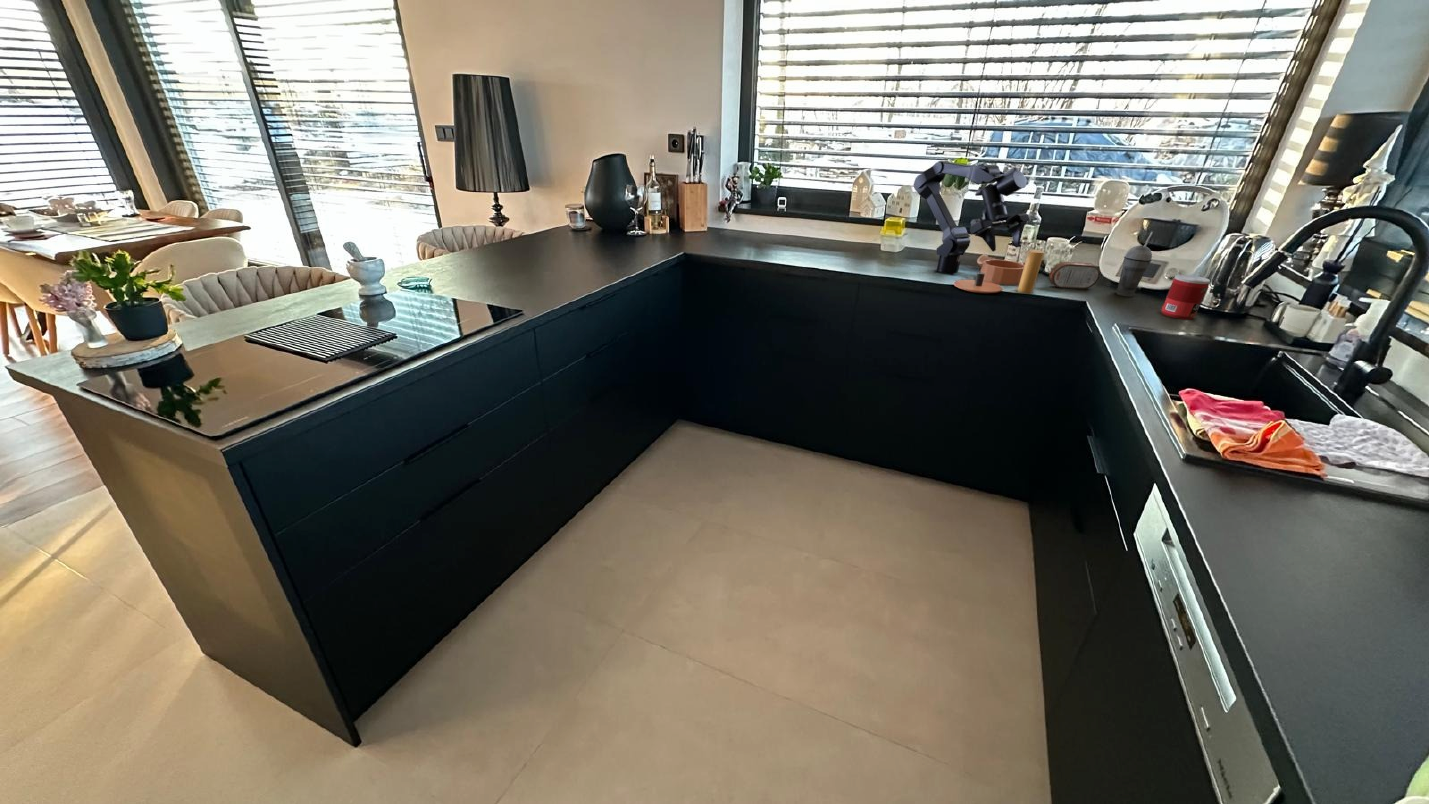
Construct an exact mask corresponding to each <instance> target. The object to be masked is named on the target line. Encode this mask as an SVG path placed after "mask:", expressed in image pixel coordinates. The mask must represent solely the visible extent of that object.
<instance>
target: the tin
mask: <svg viewBox="0 0 1429 804" xmlns="http://www.w3.org/2000/svg"><path fill="white" fill-rule="evenodd" d="M1100 277H1101V271H1100V269H1099V267H1097V265H1095V264H1094V263H1090V262H1076V261H1062V262H1059V263H1057V264H1056V265H1054V266H1053V267H1052V268H1051V269H1050V271H1049V274H1048V280H1049V282H1050V284H1051V285H1053V286H1055V287H1056V288H1058V289H1059V288H1060V289H1074V290H1076V289H1077V290H1087V289H1090V288H1091V287H1092V288H1093V286H1095V284H1097V282H1098V281H1099V279H1100Z"/></svg>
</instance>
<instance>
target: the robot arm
mask: <svg viewBox="0 0 1429 804" xmlns="http://www.w3.org/2000/svg"><path fill="white" fill-rule="evenodd" d="M947 175H949V176H955V177H961V178H965V179H968V180H969V181H970V182H973V183H974V184H976V185H986V186H979V187H978V188H977V190H976V192H975V194H974V196H976V197H980V196H981V197H982V202H983V205H984V209H983V210H982V217H979V218H973V219H971V221H970V228H969V232H970V234H969V233H968V230H967V228H966V227H965V226H958V225H957V223H956V221H955V220H954V218H953V216H952V214H951V212H950V210H949V208H948V206H947V204H946V202H945V201H944V198H943V197H942V194H941V183H942V182H943V181H944V179H945V177H946V176H947ZM1026 186H1027V177H1026V176H1025V175H1024V173H1023V172H1022V171H1021V170H1020V168H1019V167H1012V168H1011V169H1010V170H1008V171H1006V172H1004V171H1001V170H1000V167H999V166H998V165H997V164H979V165H978V164H977V165H972V164H965V163H959V162H951V161H949V160H938V161H937V162H935V163H934V164H933V165H932V166H930V167H929V168H927V169H926V170H924V171H922V173H921V174H918V175H917V176H916V177H915V178H914V181H913V188H914V190H915V191H916V193H917V194H918V195H919V196H920V197H922V199H924V200H925V201H926V202H927V204H928V206H929V208H930V210H931V212H932V214H933V216H934V218H935V220H936V222H937V224H938V226H939V228H940V230H941V233H942V235H941V236H942V237H941V242H942V243H941V244H940V245H939V246H937V247H936V255H937V256H939V257H938V262H937V266H936V269H935V270H934V272H935V273H940V274H946V275H954V274H956V273H958V272H959V271H960V270H959V269H960V264H961V259H960V258H961V256H964V255H965V253H966V251H967V250H968V249H969V247H970V244H971V238H970V237H971V235H974V236H975V237H979V238H981V239H982V240H983V241H984V242H985V243H986V245H987V247H988V248H989V249H990V250H991V252H995V251H996V250H997V244H996V243H997V242H996V232H995V228H999V227H1006V228H1007V229H1006V231H1007V232H1008V233H1010V235H1011V238H1012V241H1013V245H1014V247H1015V248H1016V249H1017V248H1019V247H1020V243H1021V240H1022V235H1023V232H1024V229H1025V227H1026V225H1028V222H1030V221H1031V220H1030V216H1029V214H1027V213H1026V212H1024V213H1023V212H1022V213H1018V214H1015V215H1014V216H1012V214H1011V213H1008V211H1007V205H1009V202H1008V200H1007V201H1006V200H1005V199H1004V197H1009V196H1011V195H1013V194H1014V193H1016V192H1018V191H1020V190H1022V189H1024V188H1025V187H1026Z"/></svg>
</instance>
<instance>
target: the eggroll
mask: <svg viewBox="0 0 1429 804" xmlns="http://www.w3.org/2000/svg"><path fill="white" fill-rule="evenodd" d="M1044 255H1045V251H1043V250H1039V249H1029V250H1028V251H1027V255H1026V259H1025V262H1024V269H1023V272H1022V276H1021V280H1020V283H1019V284H1018V287H1017V292H1018V293H1020V294H1021V293H1022V294H1026V295H1027V294H1029V295H1030V294H1033V292H1034V289H1035V286H1036V282H1037V278H1038V275H1039V272H1040V268H1041V266H1042V261H1043V258H1044Z"/></svg>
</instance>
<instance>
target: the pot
mask: <svg viewBox="0 0 1429 804" xmlns="http://www.w3.org/2000/svg"><path fill="white" fill-rule="evenodd" d="M995 259H996V260H984V261H983V262H982V267H980V271H979V272H981V273H985V276H984V280H983V281H986V282H991V283H994V284H997V285H1005V286H1016V285H1017V286H1019V283H1020V280H1021V276H1022V272H1023V269H1024V265H1025V263H1021V262H1018V261H1014V260H1009V259H997V258H995Z"/></svg>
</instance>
